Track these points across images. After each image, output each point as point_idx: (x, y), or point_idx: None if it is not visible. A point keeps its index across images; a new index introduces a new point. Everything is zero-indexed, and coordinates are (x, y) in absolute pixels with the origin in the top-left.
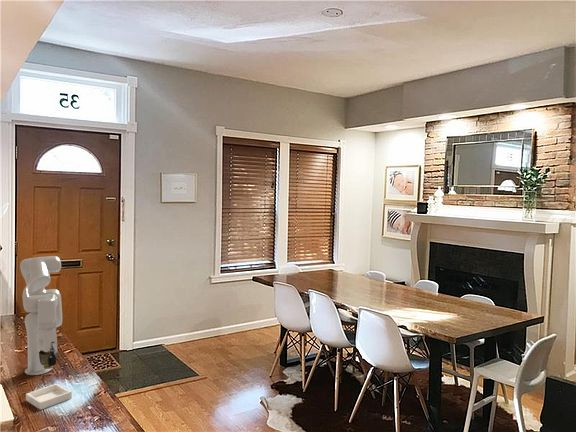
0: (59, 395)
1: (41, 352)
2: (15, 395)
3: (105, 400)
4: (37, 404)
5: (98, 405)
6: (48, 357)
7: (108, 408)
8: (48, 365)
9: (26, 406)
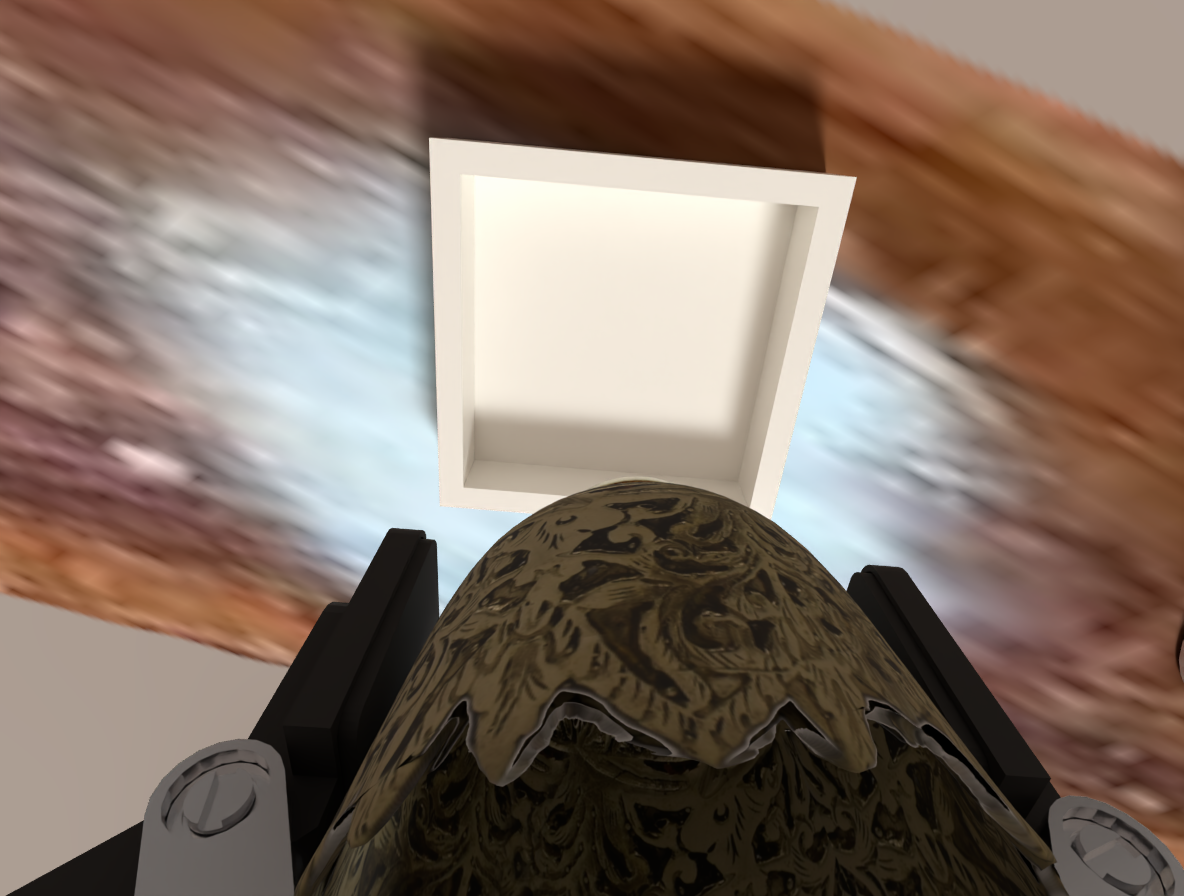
0: (448, 389)
1: (993, 852)
2: (1071, 170)
3: (190, 592)
4: (515, 144)
5: (131, 514)
6: (375, 740)
7: (15, 526)
8: (415, 534)
9: (670, 82)
